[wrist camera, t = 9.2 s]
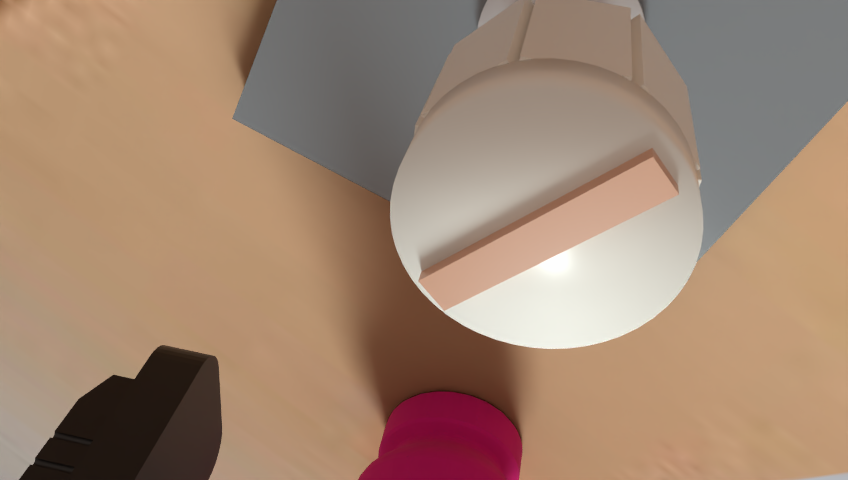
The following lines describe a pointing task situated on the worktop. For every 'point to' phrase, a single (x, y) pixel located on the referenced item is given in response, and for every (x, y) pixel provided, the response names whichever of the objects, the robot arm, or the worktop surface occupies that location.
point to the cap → (552, 178)
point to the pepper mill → (447, 441)
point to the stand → (478, 3)
